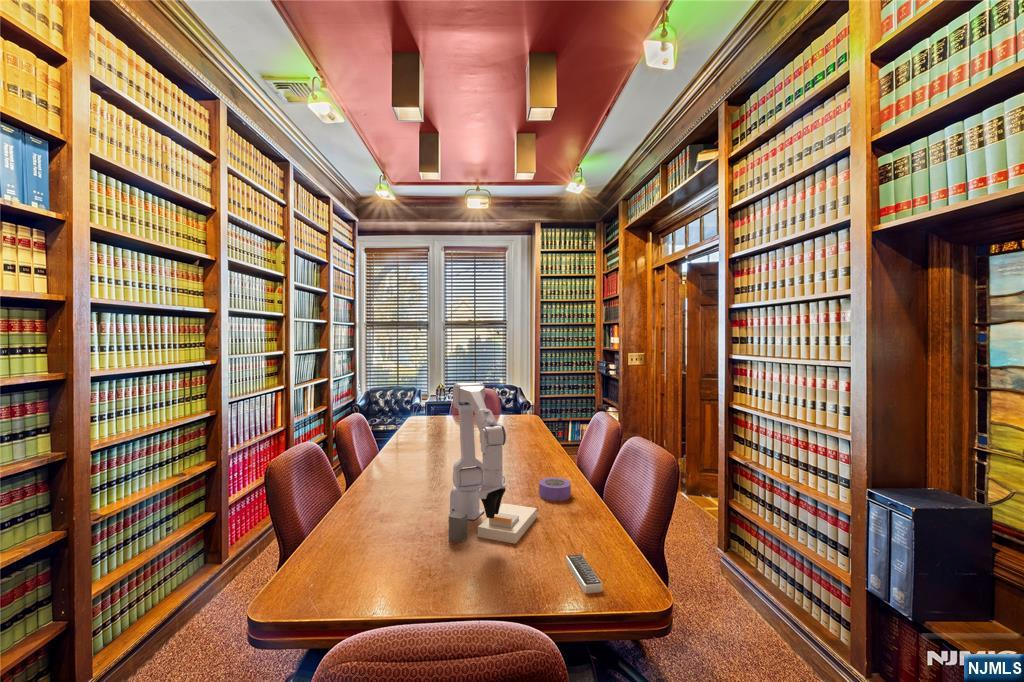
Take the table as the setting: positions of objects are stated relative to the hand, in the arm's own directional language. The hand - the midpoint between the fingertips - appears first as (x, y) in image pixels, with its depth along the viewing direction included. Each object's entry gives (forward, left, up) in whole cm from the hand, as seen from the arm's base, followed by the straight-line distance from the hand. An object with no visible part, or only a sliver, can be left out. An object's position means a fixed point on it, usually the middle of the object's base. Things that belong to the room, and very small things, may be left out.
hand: (492, 515), depth 128 cm
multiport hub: (+28, -7, -9) cm, 30 cm away
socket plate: (0, +13, -8) cm, 15 cm away
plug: (-11, 0, -8) cm, 14 cm away
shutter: (0, +9, -5) cm, 10 cm away
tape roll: (+6, +45, -9) cm, 46 cm away
